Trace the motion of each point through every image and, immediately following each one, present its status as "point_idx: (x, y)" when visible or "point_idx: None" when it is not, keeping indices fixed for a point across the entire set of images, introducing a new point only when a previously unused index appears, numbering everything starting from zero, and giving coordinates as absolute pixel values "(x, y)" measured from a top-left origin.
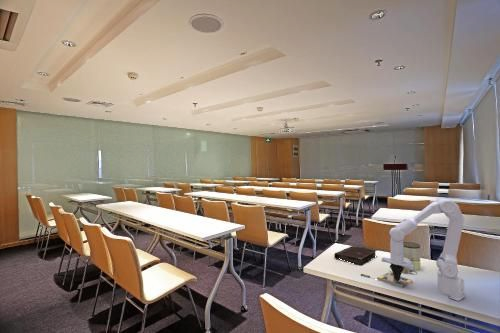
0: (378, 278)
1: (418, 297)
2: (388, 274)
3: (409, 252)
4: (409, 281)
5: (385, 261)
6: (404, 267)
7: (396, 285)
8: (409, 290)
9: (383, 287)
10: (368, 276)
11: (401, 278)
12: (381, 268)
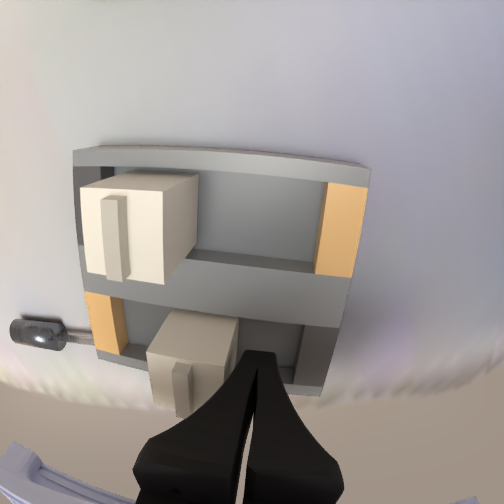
0: (108, 357)
1: (428, 384)
2: (164, 402)
3: None
4: (354, 244)
5: (61, 488)
6: (340, 478)
7: None
8: (366, 327)
9: None
10: (52, 349)
11: (234, 169)
12: (7, 21)
